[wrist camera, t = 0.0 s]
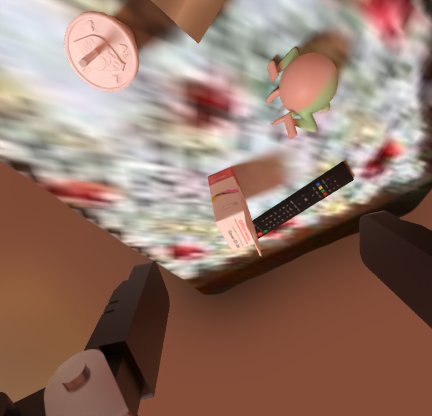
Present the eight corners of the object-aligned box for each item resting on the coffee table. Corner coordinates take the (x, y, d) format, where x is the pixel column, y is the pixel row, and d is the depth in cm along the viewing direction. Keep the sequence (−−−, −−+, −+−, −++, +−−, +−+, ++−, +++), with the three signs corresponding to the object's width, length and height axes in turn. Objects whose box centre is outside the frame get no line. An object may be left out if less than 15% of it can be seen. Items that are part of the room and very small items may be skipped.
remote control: (350, 175, 50) (354, 179, 49) (255, 235, 59) (256, 239, 58) (341, 159, 47) (344, 163, 46) (242, 225, 56) (243, 229, 55)
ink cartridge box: (206, 177, 45) (215, 237, 34) (230, 166, 44) (249, 224, 33) (223, 207, 50) (236, 267, 40) (245, 198, 50) (265, 257, 39)
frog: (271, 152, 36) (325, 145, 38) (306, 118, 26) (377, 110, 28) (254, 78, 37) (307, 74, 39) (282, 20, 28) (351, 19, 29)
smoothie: (97, -9, 27) (48, -6, 16) (154, 26, 29) (143, 47, 19) (85, 52, 30) (39, 85, 20) (137, 78, 33) (120, 120, 22)
